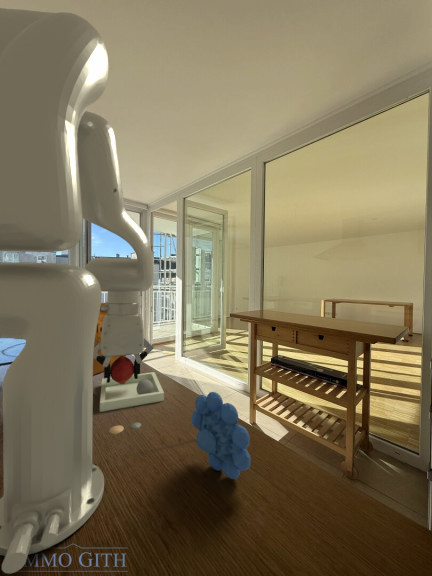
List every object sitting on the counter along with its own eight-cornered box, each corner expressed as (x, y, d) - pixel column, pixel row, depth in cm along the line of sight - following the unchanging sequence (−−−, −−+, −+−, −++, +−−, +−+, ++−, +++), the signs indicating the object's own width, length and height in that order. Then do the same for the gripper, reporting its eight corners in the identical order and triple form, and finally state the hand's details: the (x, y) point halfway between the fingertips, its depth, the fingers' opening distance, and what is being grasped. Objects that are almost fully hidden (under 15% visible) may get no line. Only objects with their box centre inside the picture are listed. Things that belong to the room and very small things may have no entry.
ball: (154, 398, 60) (154, 382, 60) (137, 401, 58) (137, 384, 58) (151, 391, 64) (151, 376, 63) (135, 393, 62) (135, 378, 62)
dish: (163, 402, 59) (164, 392, 59) (99, 414, 53) (99, 403, 53) (154, 380, 72) (154, 372, 72) (101, 387, 66) (101, 378, 66)
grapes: (173, 465, 39) (174, 392, 39) (202, 444, 44) (203, 379, 44) (230, 511, 32) (233, 421, 31) (257, 480, 37) (260, 402, 36)
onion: (116, 391, 59) (116, 358, 59) (106, 384, 63) (106, 353, 63) (138, 384, 63) (138, 353, 63) (127, 377, 67) (127, 349, 67)
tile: (149, 434, 47) (149, 431, 47) (103, 445, 44) (103, 441, 44) (145, 418, 52) (145, 415, 52) (104, 426, 49) (104, 423, 49)
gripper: (83, 312, 56) (83, 390, 56) (159, 310, 63) (158, 379, 63) (86, 308, 63) (86, 378, 63) (154, 307, 70) (153, 369, 70)
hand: (122, 378), depth 63 cm, fingers closed on onion, 6 cm apart
